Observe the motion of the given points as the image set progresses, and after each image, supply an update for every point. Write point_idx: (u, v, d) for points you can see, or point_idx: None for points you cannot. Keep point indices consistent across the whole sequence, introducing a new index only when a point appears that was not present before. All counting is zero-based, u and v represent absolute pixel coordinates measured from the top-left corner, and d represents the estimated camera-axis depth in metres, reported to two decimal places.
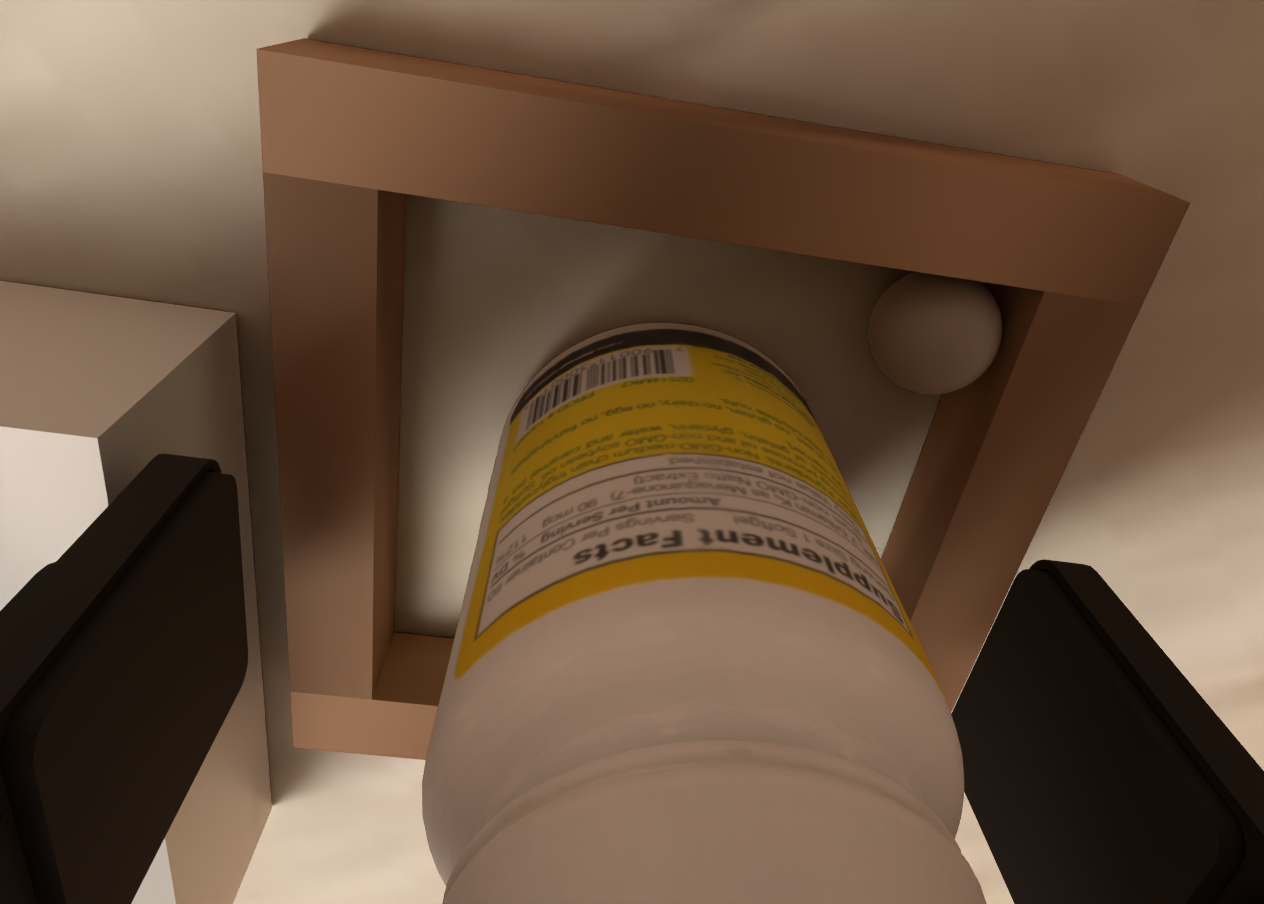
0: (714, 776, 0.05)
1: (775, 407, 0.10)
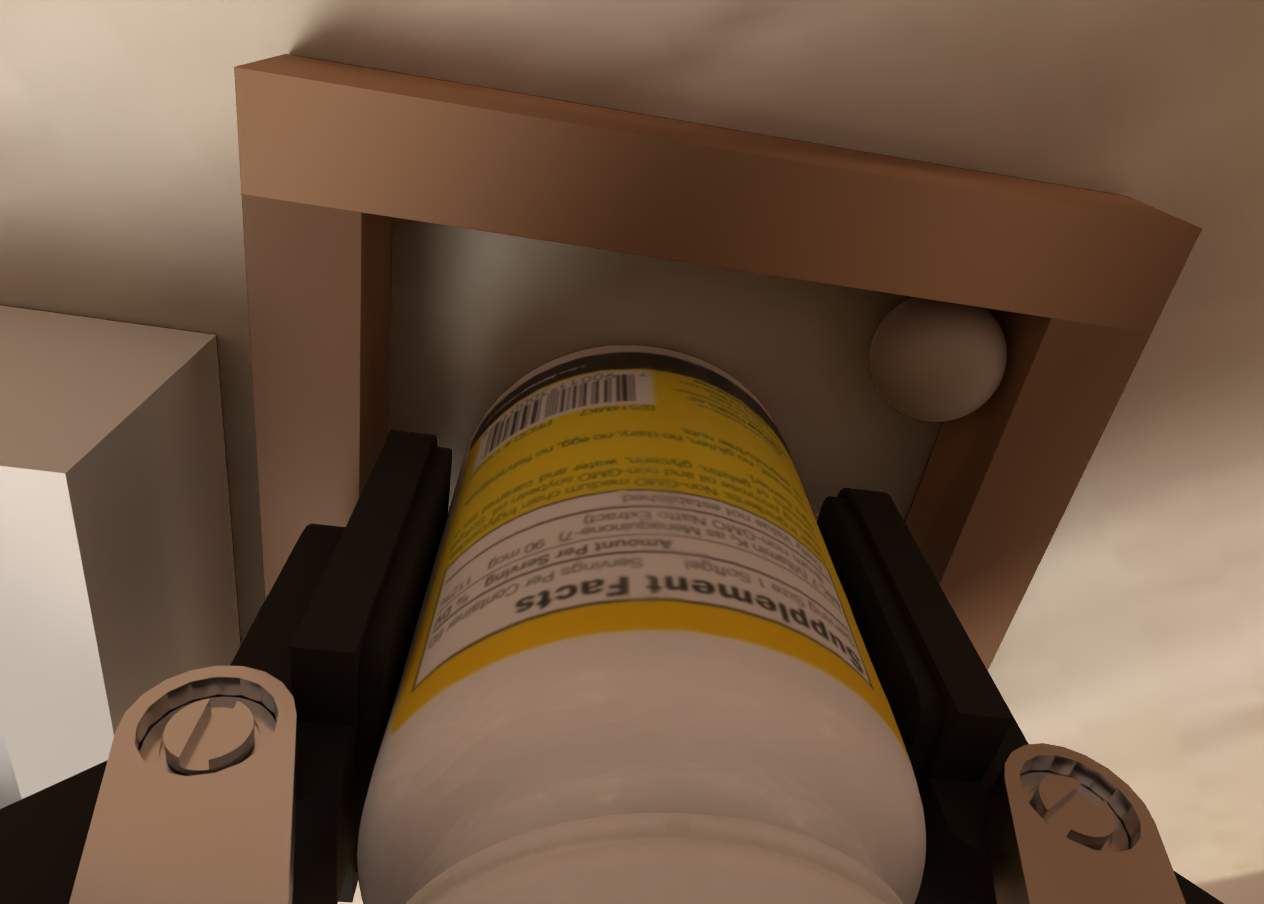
0: (647, 855, 0.05)
1: (739, 436, 0.09)
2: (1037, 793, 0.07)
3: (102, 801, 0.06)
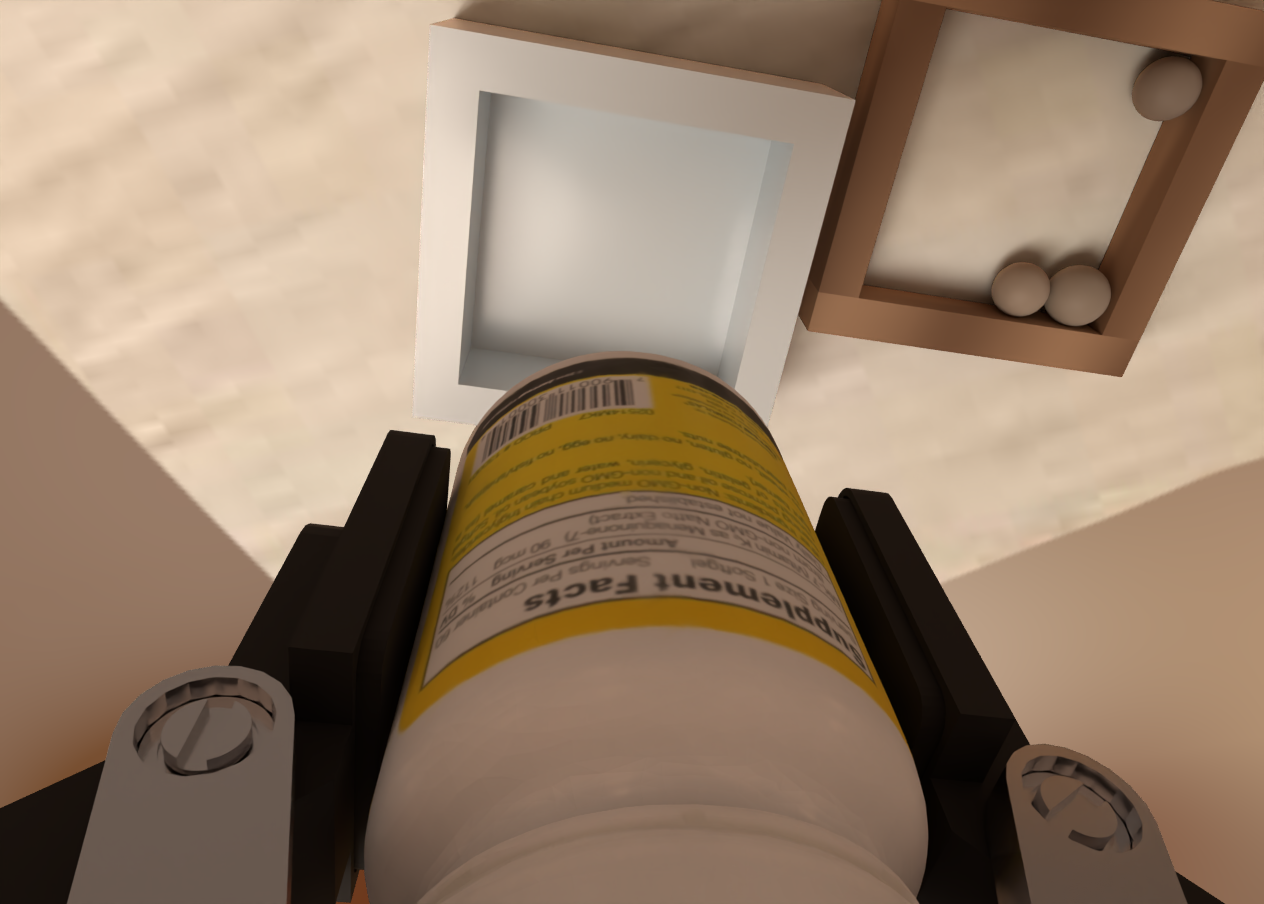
0: (665, 846, 0.05)
1: (737, 440, 0.10)
2: (1039, 793, 0.07)
3: (100, 801, 0.06)
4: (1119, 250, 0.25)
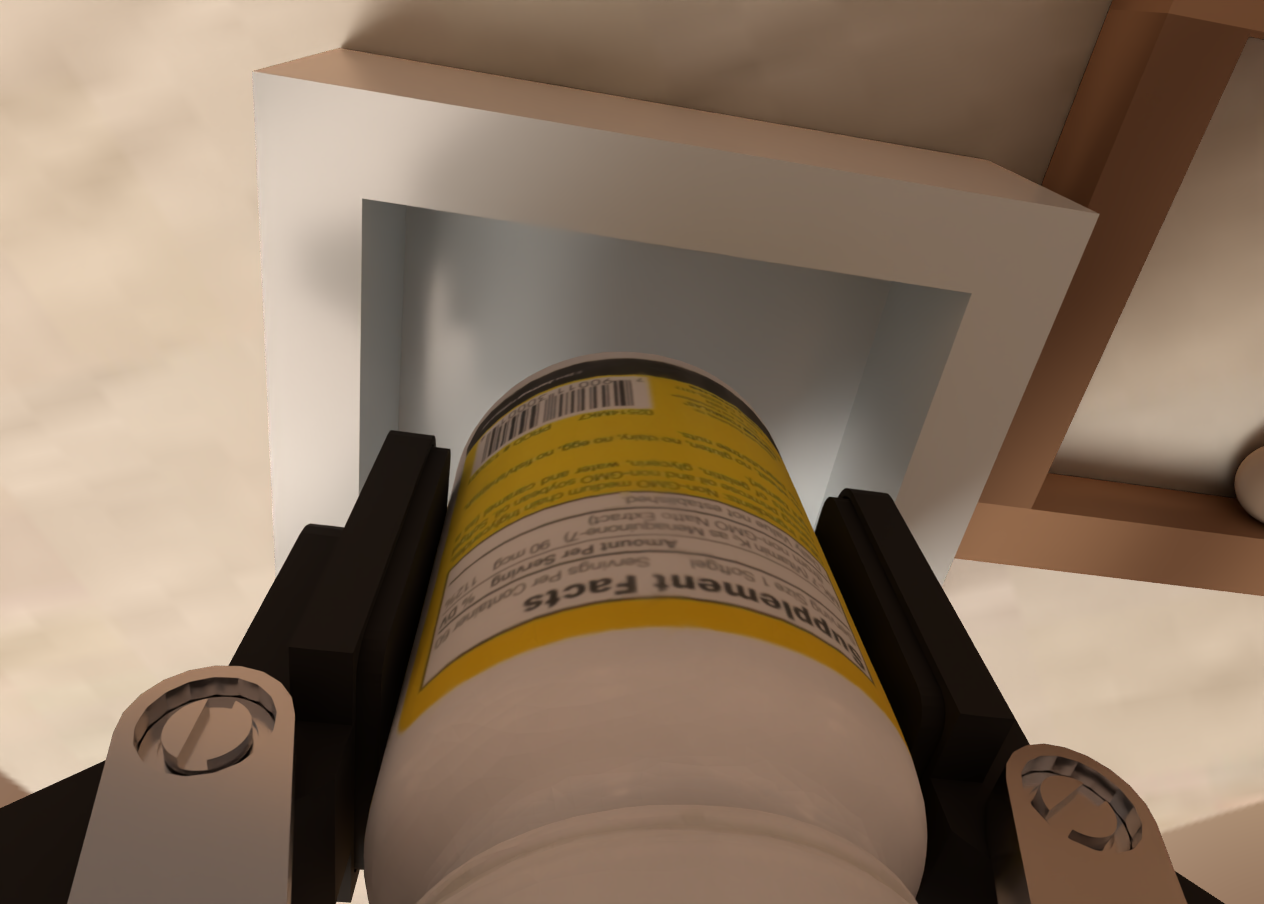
0: (665, 846, 0.05)
1: (736, 440, 0.10)
2: (1038, 793, 0.07)
3: (101, 801, 0.06)
4: None
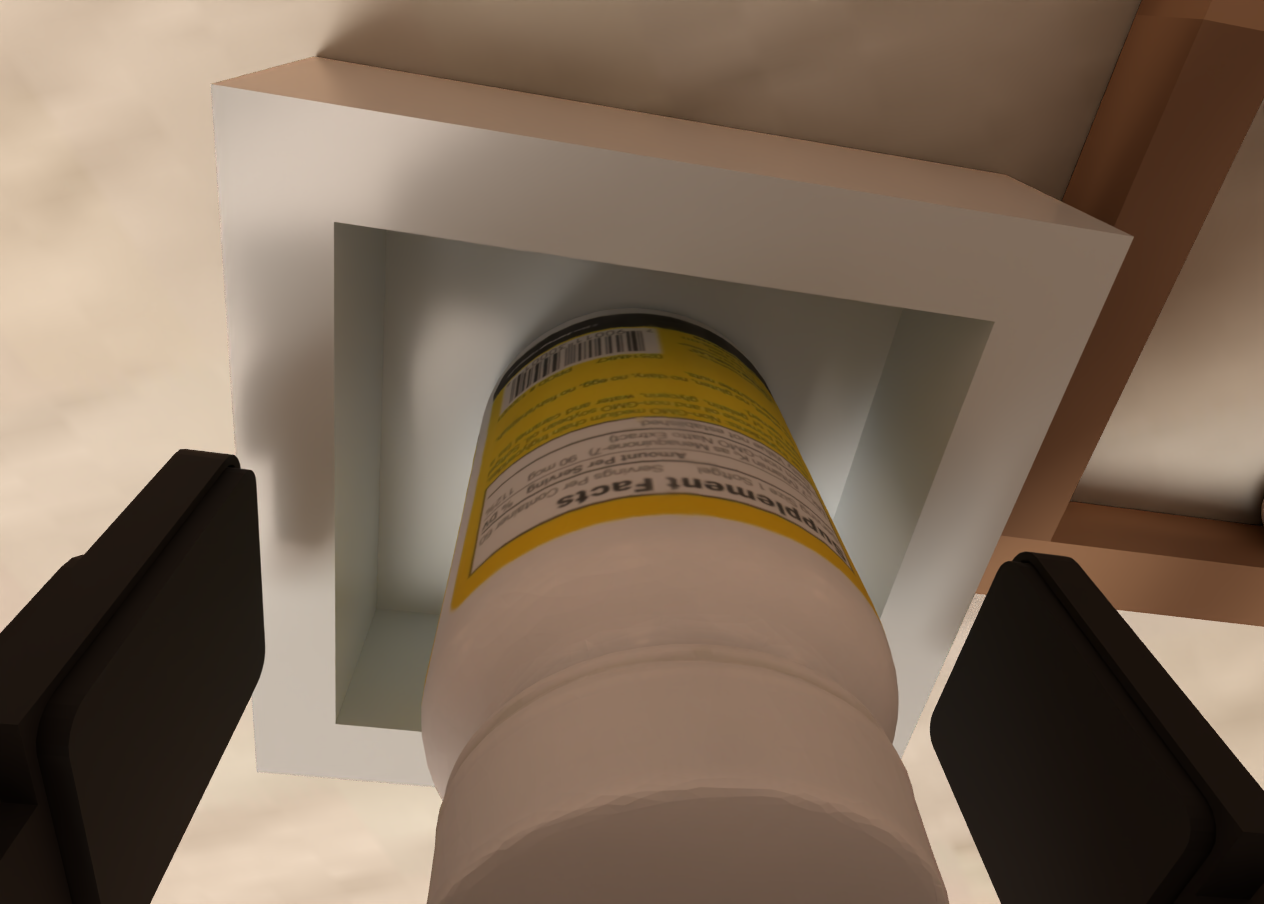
0: (681, 669, 0.06)
1: (736, 381, 0.11)
2: None
3: None
4: None
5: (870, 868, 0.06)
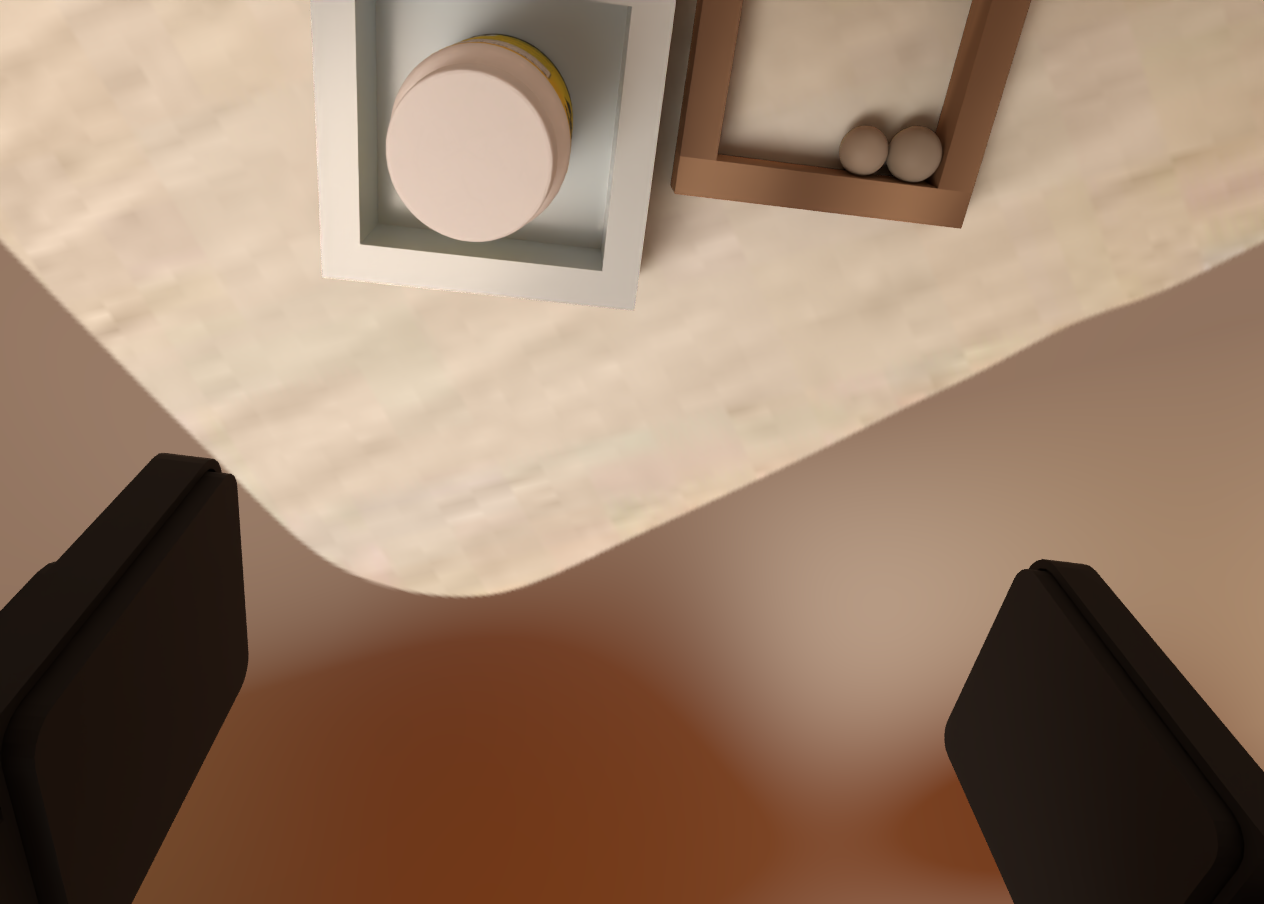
0: (462, 62, 0.20)
1: (528, 47, 0.25)
2: None
3: None
4: (948, 112, 0.28)
5: (515, 106, 0.20)
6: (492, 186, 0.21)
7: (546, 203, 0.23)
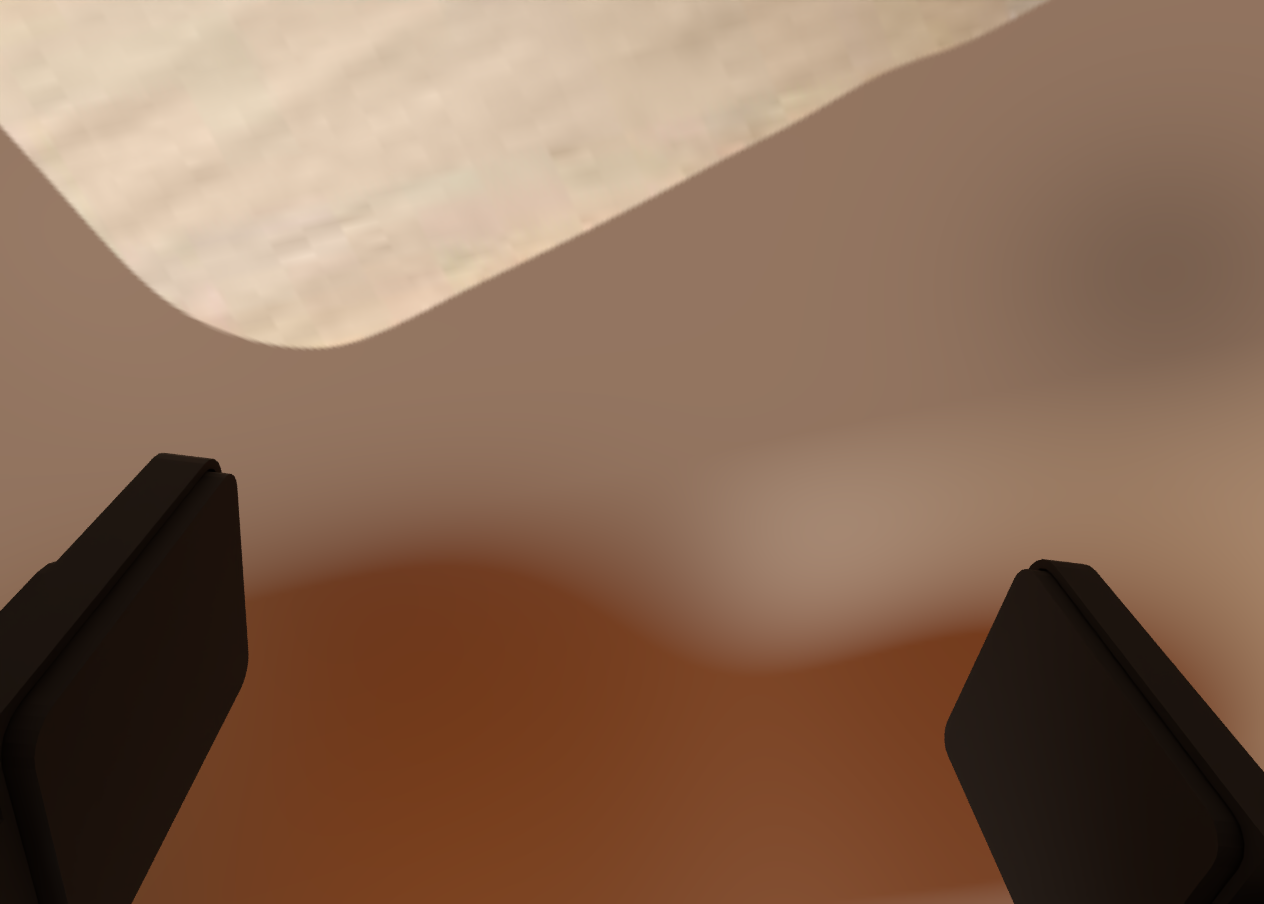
0: None
1: None
2: None
3: None
4: None
5: None
6: None
7: None
